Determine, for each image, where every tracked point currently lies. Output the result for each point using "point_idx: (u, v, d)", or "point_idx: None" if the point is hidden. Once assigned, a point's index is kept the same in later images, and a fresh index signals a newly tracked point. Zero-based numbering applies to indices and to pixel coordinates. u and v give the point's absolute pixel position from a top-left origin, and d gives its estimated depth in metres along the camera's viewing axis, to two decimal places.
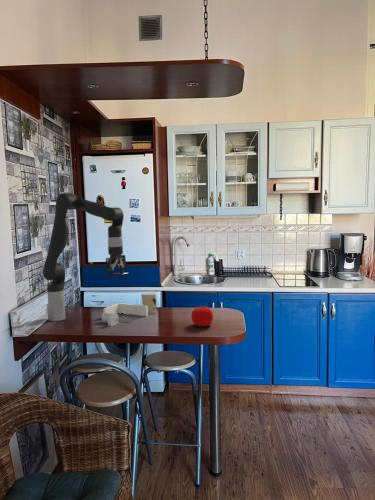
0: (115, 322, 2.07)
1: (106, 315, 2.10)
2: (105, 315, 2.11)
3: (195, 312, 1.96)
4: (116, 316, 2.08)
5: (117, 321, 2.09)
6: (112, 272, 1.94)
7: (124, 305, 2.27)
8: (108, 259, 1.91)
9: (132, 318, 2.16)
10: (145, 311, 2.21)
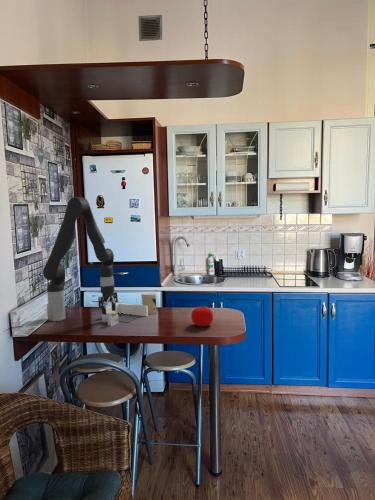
0: (115, 322, 2.07)
1: (106, 315, 2.10)
2: (105, 315, 2.11)
3: (195, 312, 1.96)
4: (116, 316, 2.08)
5: (117, 321, 2.09)
6: (104, 310, 2.06)
7: (124, 305, 2.27)
8: (100, 298, 2.03)
9: (132, 318, 2.16)
10: (145, 311, 2.21)
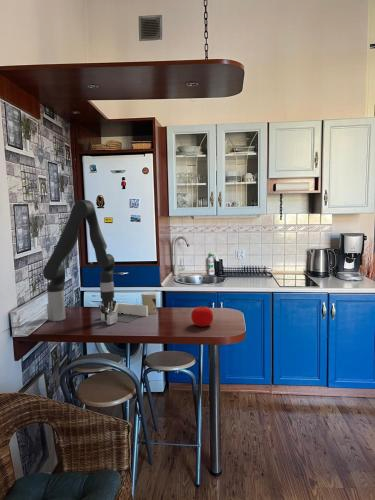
0: (114, 320, 2.07)
1: None
2: None
3: (195, 312, 1.96)
4: (115, 314, 2.08)
5: (116, 319, 2.09)
6: None
7: (124, 305, 2.27)
8: (101, 307, 2.05)
9: (132, 318, 2.16)
10: (145, 311, 2.21)
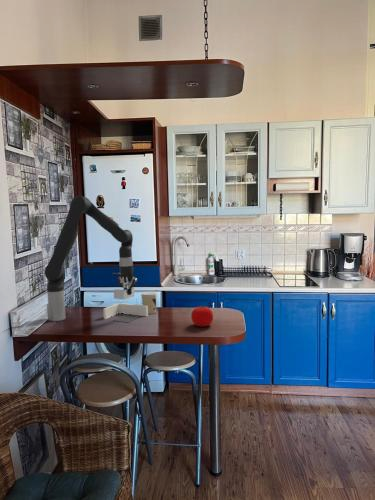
0: (119, 297, 2.11)
1: None
2: None
3: (195, 312, 1.96)
4: (121, 291, 2.10)
5: (122, 297, 2.10)
6: None
7: (124, 305, 2.27)
8: None
9: (132, 318, 2.16)
10: (145, 311, 2.21)
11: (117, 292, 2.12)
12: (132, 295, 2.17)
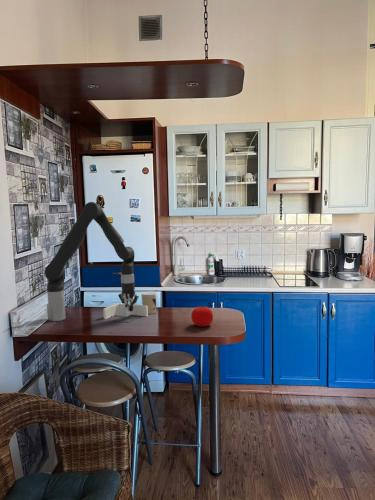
0: (121, 314, 2.14)
1: None
2: None
3: (195, 312, 1.96)
4: (123, 309, 2.13)
5: (124, 314, 2.13)
6: None
7: (124, 305, 2.27)
8: None
9: (132, 318, 2.16)
10: (145, 311, 2.21)
11: (119, 309, 2.14)
12: (134, 312, 2.20)
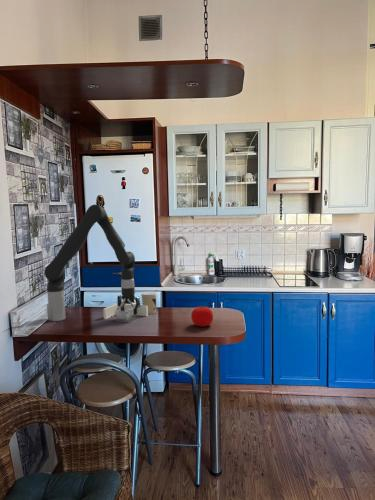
0: (122, 318, 2.14)
1: None
2: None
3: (195, 312, 1.96)
4: (123, 313, 2.13)
5: (124, 318, 2.13)
6: (121, 309, 2.18)
7: (124, 305, 2.27)
8: None
9: (132, 318, 2.16)
10: (145, 311, 2.21)
11: (119, 313, 2.14)
12: (134, 315, 2.20)
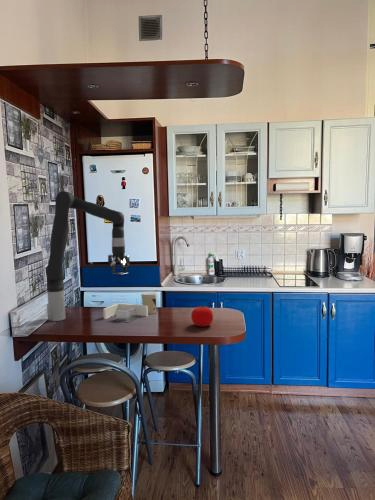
0: (122, 318, 2.14)
1: None
2: None
3: (195, 312, 1.96)
4: (123, 313, 2.13)
5: (124, 318, 2.13)
6: (111, 268, 2.23)
7: (124, 305, 2.27)
8: None
9: (132, 318, 2.16)
10: (145, 311, 2.21)
11: (119, 313, 2.14)
12: (134, 315, 2.20)
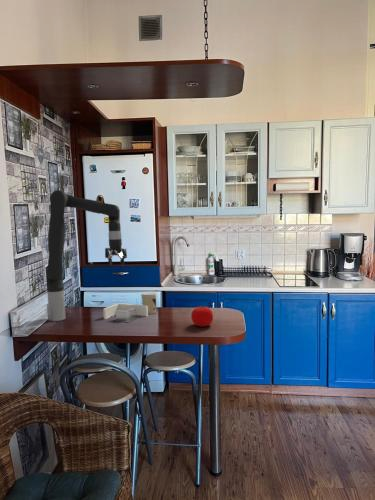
0: (122, 318, 2.14)
1: None
2: None
3: (195, 312, 1.96)
4: (123, 313, 2.13)
5: (124, 318, 2.13)
6: (109, 261, 2.26)
7: (124, 305, 2.27)
8: None
9: (132, 318, 2.16)
10: (145, 311, 2.21)
11: (119, 313, 2.14)
12: (134, 315, 2.20)
